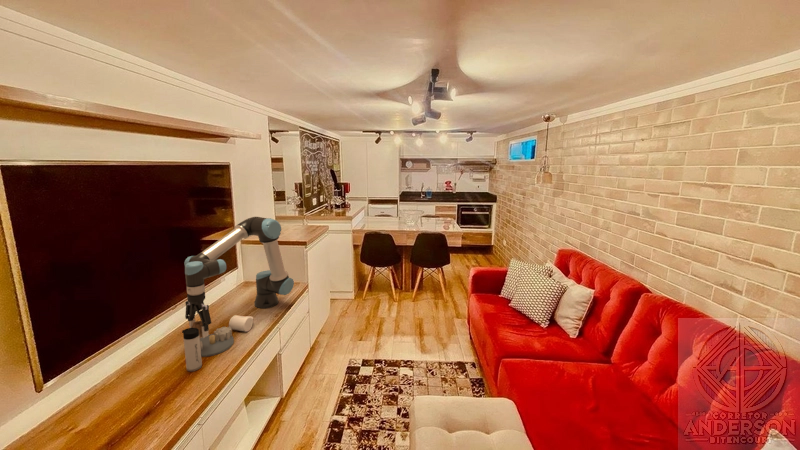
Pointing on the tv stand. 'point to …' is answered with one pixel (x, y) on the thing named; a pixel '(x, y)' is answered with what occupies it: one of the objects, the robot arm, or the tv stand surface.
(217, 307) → the tv stand surface
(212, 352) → the carrier
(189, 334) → the travel mug
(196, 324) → the oak gear
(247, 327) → the mug
